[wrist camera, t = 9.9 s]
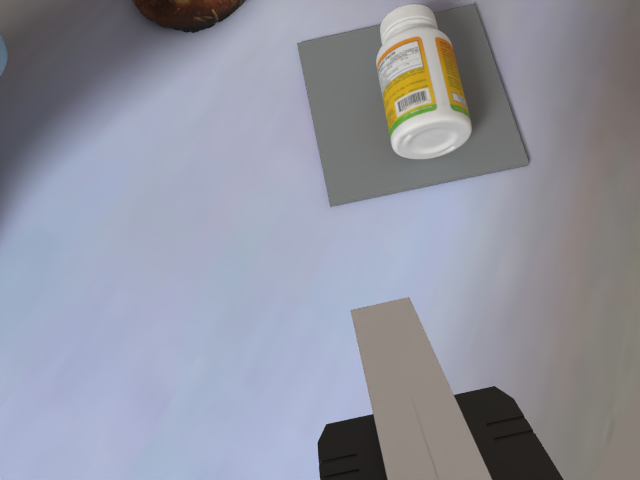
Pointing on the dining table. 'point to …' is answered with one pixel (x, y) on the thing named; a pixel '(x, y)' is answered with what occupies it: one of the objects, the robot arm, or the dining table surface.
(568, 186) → the dining table surface
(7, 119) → the dining table surface
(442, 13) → the mat
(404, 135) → the supplement bottle
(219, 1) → the bread roll
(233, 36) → the dining table surface
